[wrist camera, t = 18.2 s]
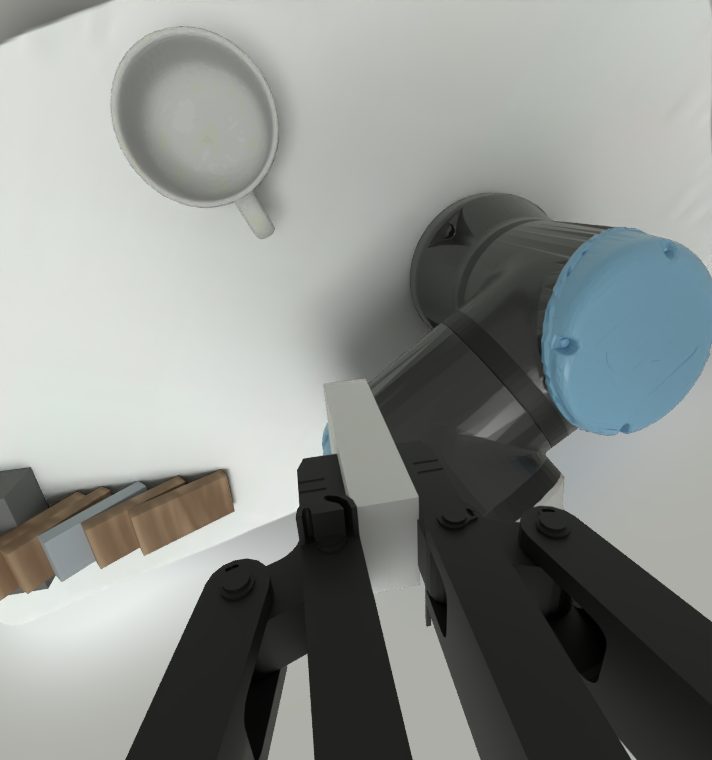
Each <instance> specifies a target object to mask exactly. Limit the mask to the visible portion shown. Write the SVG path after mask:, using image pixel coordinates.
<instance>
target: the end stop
mask: <svg viewBox="0 0 712 760" xmlns="http://www.w3.org/2000/svg"><path fill="white" fill-rule="evenodd" d="M47 509H48V505H47V503H46V501H45V499H44V496H43V494H42V492H41V490H40V487H39V485H38V483H37V480H36V478H35V476H34V474H33V471H32V469H31V467H30V468H23V469H15V470H8V471H0V537H1V536H3V535H5V534H6V533H8V532H10V531H11V530H13V529H15V528H16V527H18V526H20V525H21V524H23V523H25V522H27V521H28V520H30V519H32V518H33V517H35V516H37V515H38V514H40V513H42V512H43V511H45V510H47ZM55 576H56V575H54V576H52V577H51V578H50V579H48V580H47V581H45V582H44V583H43V584H41V585H40V586H38V587H37V588H36V589H34V590H33V591H37V590H43V589H48V588H49V586H50V584H51V583H52V581H53V579H54V577H55ZM24 592H25V591H23V590H22V589H20V588H18V589H16V590H15V591H14V592H12V593H11V594H9V595H12V594H18V593H24Z"/></svg>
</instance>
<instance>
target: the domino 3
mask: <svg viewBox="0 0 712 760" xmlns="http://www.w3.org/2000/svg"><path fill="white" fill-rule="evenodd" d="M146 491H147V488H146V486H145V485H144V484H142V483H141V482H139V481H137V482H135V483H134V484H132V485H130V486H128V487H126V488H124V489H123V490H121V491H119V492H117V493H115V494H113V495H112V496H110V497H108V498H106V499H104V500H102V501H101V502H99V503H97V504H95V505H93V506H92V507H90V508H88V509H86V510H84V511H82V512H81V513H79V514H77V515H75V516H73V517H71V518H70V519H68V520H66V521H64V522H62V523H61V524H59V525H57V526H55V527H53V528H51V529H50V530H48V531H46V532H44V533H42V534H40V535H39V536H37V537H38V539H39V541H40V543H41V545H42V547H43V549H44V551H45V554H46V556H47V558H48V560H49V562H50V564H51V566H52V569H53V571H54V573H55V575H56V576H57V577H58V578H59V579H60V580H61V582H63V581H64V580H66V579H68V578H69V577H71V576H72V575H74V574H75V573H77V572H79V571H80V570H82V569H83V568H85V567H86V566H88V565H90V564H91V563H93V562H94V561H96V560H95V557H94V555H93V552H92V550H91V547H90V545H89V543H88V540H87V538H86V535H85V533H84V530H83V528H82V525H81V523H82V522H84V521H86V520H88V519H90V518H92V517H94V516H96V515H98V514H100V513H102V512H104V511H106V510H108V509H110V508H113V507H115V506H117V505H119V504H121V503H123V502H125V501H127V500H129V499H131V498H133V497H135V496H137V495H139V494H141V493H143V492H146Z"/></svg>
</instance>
